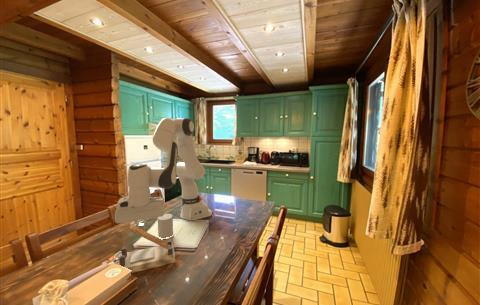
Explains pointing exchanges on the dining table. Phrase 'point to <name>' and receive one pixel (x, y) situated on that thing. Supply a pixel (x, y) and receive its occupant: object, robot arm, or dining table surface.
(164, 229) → the cup
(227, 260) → the dining table surface
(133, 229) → the brown wooden bar
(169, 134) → the robot arm
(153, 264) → the latch board
